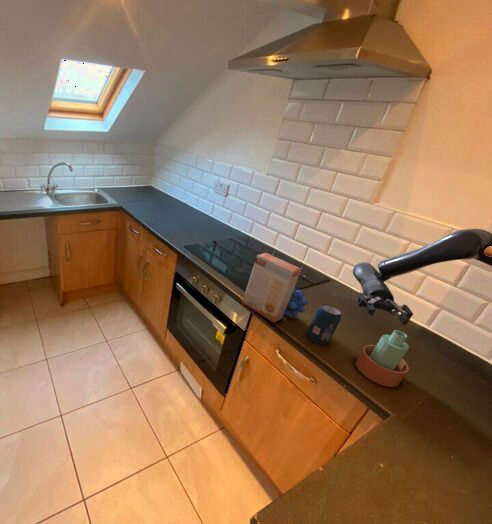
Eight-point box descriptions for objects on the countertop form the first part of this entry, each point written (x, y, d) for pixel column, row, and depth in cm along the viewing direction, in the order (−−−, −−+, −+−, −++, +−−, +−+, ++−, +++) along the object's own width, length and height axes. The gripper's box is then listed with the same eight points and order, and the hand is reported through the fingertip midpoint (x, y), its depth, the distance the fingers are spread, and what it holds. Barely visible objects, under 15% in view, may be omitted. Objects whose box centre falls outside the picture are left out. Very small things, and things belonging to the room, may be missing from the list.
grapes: (270, 318, 108) (281, 290, 103) (267, 308, 114) (277, 281, 109) (304, 325, 107) (317, 297, 101) (299, 314, 113) (311, 287, 107)
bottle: (375, 361, 93) (397, 325, 86) (394, 376, 88) (420, 340, 81) (360, 363, 91) (382, 327, 85) (379, 379, 86) (404, 342, 79)
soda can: (314, 329, 105) (327, 300, 100) (333, 341, 100) (348, 312, 95) (301, 334, 102) (315, 305, 96) (320, 347, 97) (335, 317, 91)
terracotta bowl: (373, 356, 96) (381, 343, 93) (408, 383, 86) (418, 370, 84) (347, 360, 93) (354, 347, 90) (380, 389, 83) (390, 375, 81)
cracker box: (282, 318, 109) (302, 268, 99) (273, 323, 105) (293, 272, 96) (250, 299, 118) (266, 251, 109) (241, 303, 115) (256, 254, 106)
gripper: (358, 278, 106) (367, 300, 93) (406, 290, 102) (423, 315, 88) (349, 296, 110) (357, 319, 96) (395, 308, 105) (410, 335, 92)
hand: (388, 317), depth 92 cm, fingers open, 8 cm apart
